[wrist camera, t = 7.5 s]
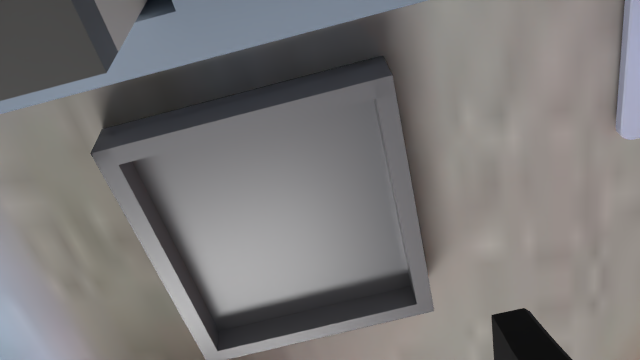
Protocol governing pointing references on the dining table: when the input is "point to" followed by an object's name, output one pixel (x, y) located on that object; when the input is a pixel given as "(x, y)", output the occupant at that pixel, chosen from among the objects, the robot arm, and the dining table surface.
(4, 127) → the dining table surface
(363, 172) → the tray
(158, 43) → the power strip
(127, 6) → the plug
